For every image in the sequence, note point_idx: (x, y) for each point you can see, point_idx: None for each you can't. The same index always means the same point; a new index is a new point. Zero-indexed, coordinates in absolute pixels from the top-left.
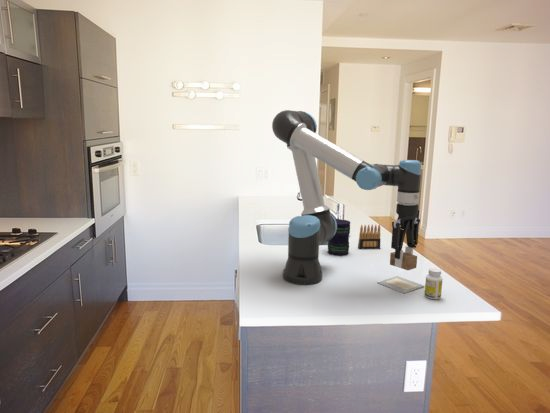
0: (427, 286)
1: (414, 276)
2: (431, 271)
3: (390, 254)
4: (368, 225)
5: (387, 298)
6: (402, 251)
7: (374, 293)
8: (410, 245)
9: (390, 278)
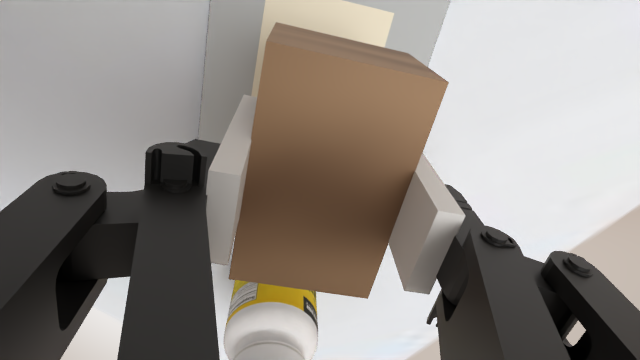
0: (233, 293)
1: (528, 83)
2: None
3: (267, 39)
4: None
5: (53, 124)
6: (212, 256)
7: (37, 26)
8: (448, 283)
9: None
